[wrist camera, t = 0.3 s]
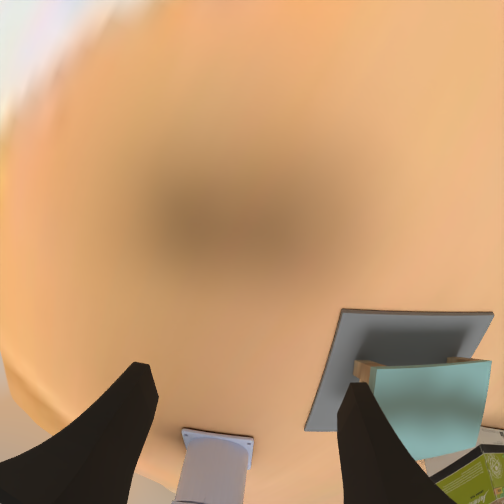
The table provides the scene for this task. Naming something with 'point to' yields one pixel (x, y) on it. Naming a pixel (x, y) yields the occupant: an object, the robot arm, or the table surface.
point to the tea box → (472, 470)
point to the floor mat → (390, 349)
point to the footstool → (431, 402)
